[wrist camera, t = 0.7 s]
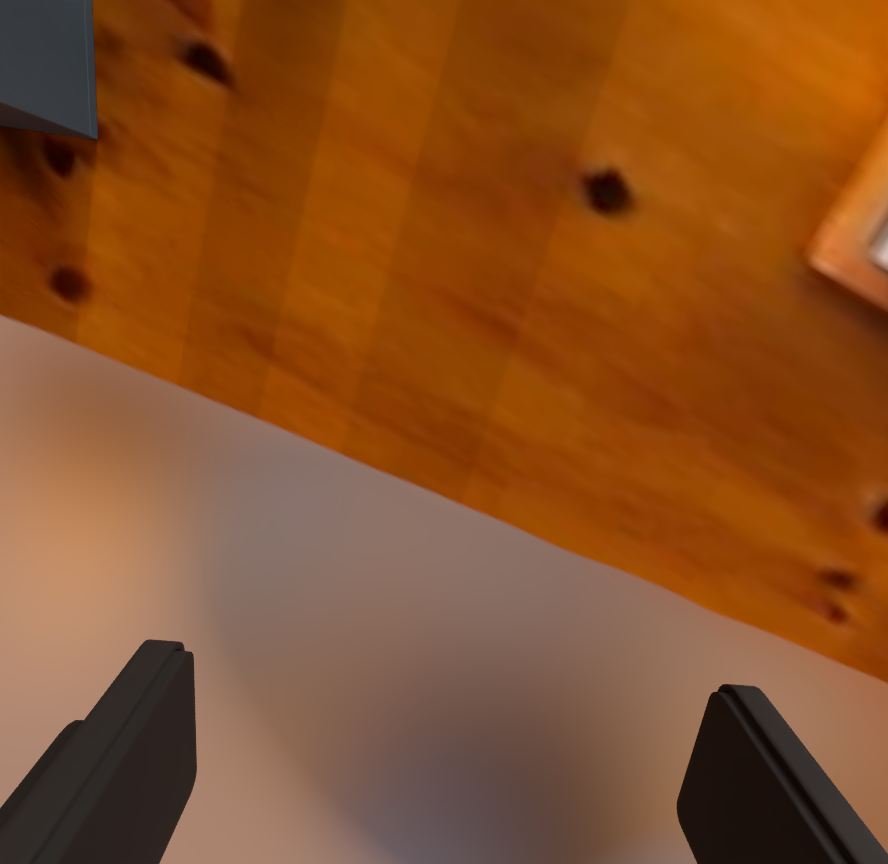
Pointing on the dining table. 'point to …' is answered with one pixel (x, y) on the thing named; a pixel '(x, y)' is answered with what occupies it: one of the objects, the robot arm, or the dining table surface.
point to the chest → (48, 67)
